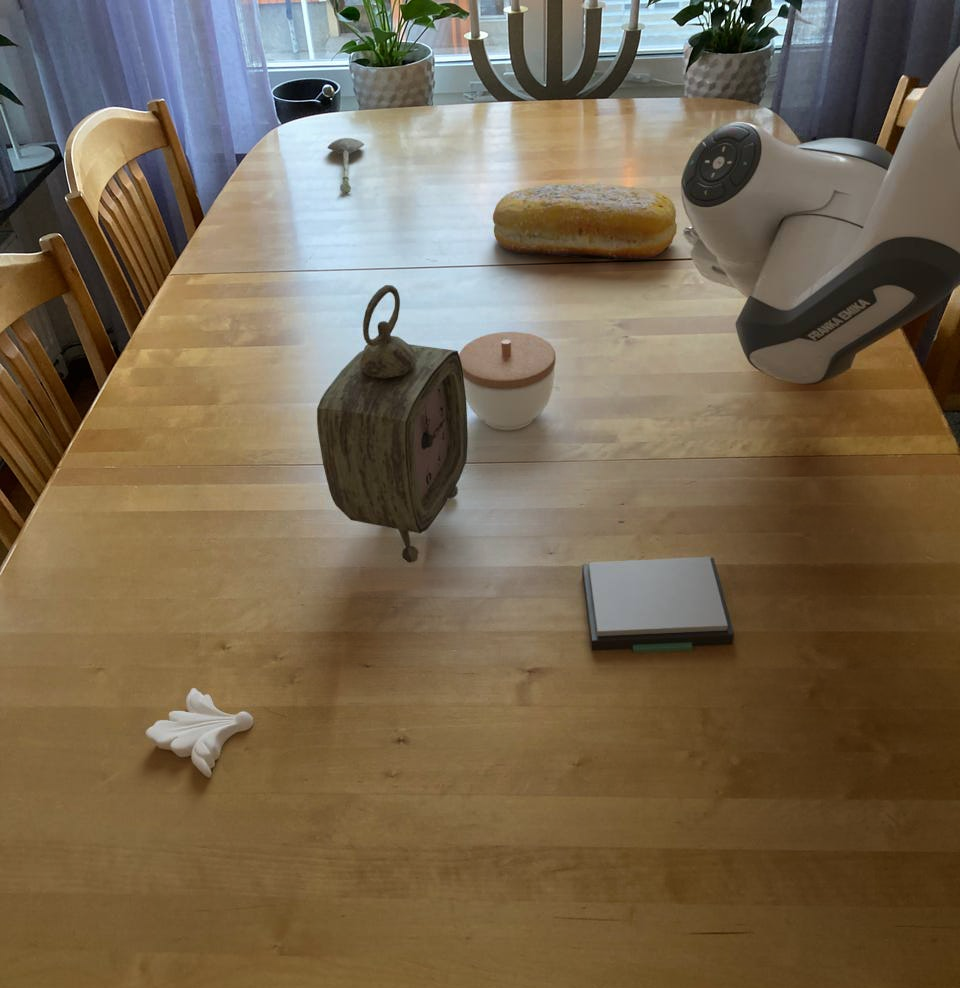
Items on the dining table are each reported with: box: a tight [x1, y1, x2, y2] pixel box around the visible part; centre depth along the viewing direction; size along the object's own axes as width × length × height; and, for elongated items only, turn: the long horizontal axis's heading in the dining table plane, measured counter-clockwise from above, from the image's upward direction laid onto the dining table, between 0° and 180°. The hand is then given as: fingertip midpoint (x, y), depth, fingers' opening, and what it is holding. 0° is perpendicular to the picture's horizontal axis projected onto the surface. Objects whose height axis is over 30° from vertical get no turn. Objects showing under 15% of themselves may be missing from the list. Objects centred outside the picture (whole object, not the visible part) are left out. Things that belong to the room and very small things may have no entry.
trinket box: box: [458, 331, 557, 432], centre depth 112 cm, size 11×11×9 cm
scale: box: [581, 556, 735, 654], centre depth 89 cm, size 12×10×4 cm
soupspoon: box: [326, 137, 365, 194], centre depth 172 cm, size 22×3×7 cm
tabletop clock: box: [316, 284, 469, 563], centre depth 94 cm, size 14×9×25 cm, turn 160°
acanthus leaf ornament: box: [145, 687, 254, 779], centre depth 83 cm, size 8×7×2 cm
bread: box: [492, 183, 678, 261], centre depth 143 cm, size 13×26×8 cm, turn 77°
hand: (806, 307), depth 105 cm, fingers closed on tumbler, 6 cm apart
